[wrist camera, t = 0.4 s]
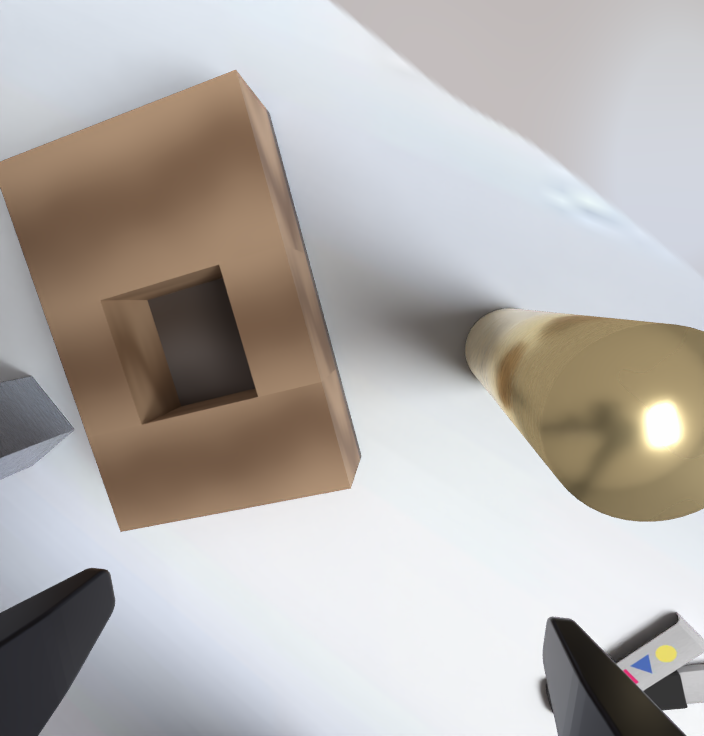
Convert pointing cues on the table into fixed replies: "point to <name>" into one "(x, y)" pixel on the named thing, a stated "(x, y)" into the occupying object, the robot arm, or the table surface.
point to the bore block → (185, 307)
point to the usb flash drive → (668, 667)
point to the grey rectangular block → (27, 425)
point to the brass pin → (602, 404)
